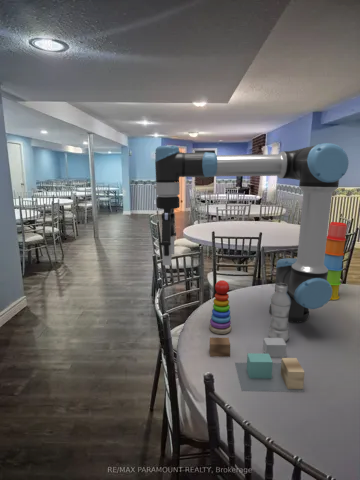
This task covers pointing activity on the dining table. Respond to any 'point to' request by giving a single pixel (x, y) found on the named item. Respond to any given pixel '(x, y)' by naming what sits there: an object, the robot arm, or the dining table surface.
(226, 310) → the stacking toy
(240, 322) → the dining table surface
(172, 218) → the robot arm
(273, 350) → the grey block
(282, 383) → the slate board
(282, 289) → the plastic bottle
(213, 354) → the walnut block
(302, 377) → the oak block
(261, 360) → the teal block
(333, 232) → the stacking cups
